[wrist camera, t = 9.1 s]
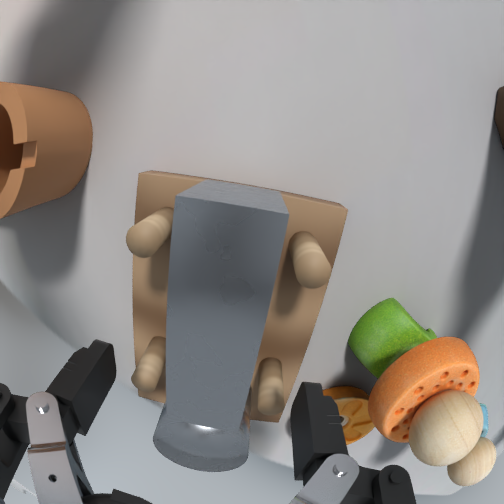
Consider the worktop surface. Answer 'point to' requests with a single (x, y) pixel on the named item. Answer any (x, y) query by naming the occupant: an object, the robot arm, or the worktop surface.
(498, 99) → the beer bottle
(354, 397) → the wooden stacking toy
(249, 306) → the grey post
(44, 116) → the bracket
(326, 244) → the rack
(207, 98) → the worktop surface
